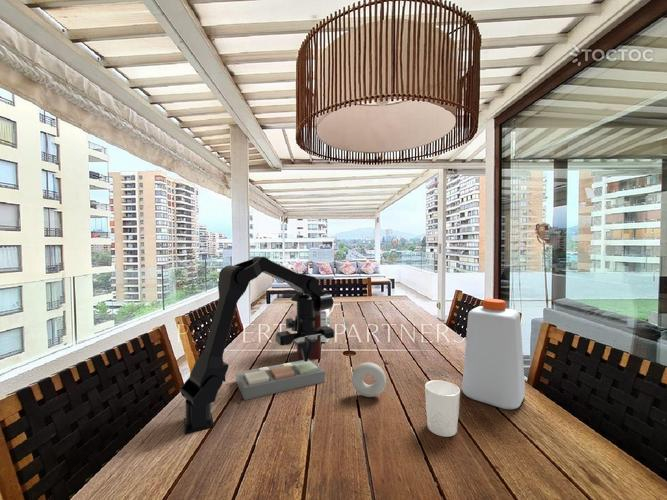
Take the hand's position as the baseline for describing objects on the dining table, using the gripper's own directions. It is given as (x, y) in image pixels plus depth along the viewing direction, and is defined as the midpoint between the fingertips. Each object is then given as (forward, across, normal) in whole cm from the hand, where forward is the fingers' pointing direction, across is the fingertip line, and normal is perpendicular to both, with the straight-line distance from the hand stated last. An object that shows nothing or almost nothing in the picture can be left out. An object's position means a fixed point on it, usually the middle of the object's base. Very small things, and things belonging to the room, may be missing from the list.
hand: (305, 361), depth 101 cm
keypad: (+6, +8, -2) cm, 10 cm away
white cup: (+6, -19, +40) cm, 45 cm away
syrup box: (+6, -22, -34) cm, 41 cm away
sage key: (+4, 0, 0) cm, 4 cm away
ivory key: (+4, +16, 0) cm, 16 cm away
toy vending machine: (+6, -9, -19) cm, 22 cm away
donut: (+6, -12, +19) cm, 23 cm away
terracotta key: (+4, +8, 0) cm, 9 cm away
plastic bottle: (+6, -45, +35) cm, 57 cm away
